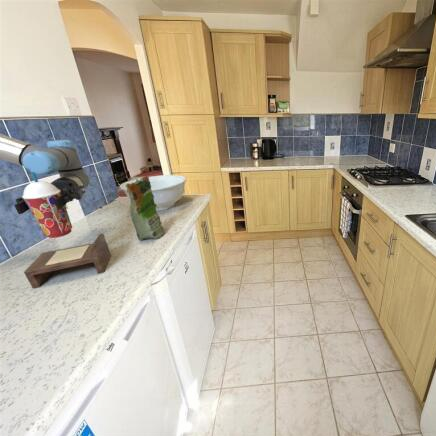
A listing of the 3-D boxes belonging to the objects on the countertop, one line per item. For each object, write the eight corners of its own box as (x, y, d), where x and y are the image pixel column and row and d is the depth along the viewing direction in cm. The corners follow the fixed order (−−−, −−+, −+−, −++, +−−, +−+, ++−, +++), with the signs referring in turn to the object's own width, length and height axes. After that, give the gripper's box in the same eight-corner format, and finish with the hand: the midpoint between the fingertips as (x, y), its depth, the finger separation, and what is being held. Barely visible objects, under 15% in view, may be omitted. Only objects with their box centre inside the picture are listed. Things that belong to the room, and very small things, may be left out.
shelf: (32, 288, 73) (18, 263, 70) (49, 267, 83) (37, 245, 80) (103, 272, 80) (94, 248, 76) (111, 254, 90) (103, 233, 86)
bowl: (199, 196, 152) (195, 173, 146) (175, 217, 122) (169, 189, 116) (149, 197, 153) (142, 174, 147) (113, 218, 123) (103, 190, 117)
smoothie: (82, 231, 80) (57, 170, 72) (50, 242, 73) (19, 176, 65) (68, 226, 83) (43, 168, 75) (37, 237, 76) (5, 174, 68)
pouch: (161, 227, 111) (147, 173, 101) (170, 236, 103) (155, 178, 93) (134, 236, 104) (115, 178, 94) (141, 245, 96) (122, 184, 86)
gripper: (103, 193, 94) (87, 212, 75) (34, 201, 86) (-5, 226, 67) (97, 173, 91) (77, 189, 72) (24, 181, 83) (-20, 200, 64)
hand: (38, 206), depth 69 cm, fingers closed on smoothie, 8 cm apart
